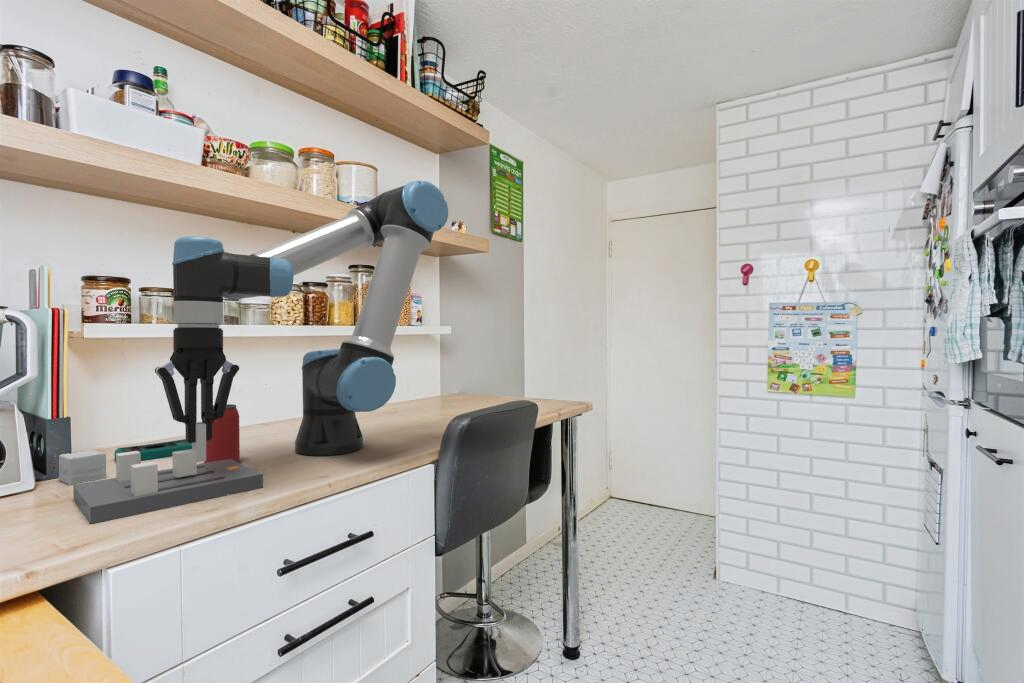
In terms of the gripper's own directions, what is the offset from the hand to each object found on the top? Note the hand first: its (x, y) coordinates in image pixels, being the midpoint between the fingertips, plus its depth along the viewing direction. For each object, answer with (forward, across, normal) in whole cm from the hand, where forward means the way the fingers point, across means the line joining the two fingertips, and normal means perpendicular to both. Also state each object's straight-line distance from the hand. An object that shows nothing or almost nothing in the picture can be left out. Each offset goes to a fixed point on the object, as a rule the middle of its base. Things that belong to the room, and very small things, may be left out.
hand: (199, 459), depth 92 cm
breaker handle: (+2, +2, 0) cm, 3 cm away
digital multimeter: (+6, -1, -34) cm, 34 cm away
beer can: (+5, -9, -16) cm, 19 cm away
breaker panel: (+5, +4, 0) cm, 7 cm away
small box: (+5, +13, -22) cm, 26 cm away
